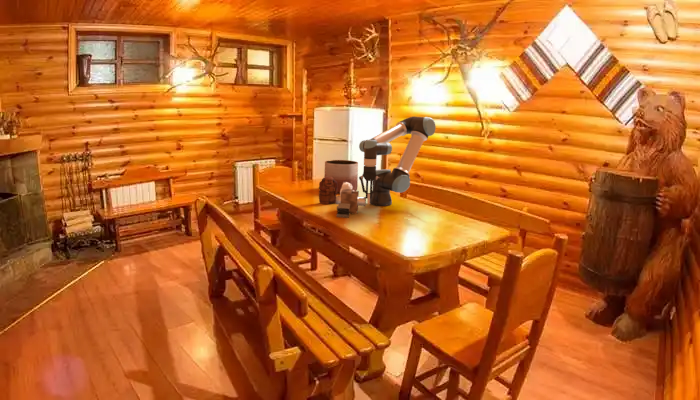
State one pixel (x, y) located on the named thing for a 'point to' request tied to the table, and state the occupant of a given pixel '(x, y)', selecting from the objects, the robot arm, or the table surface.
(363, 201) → the axle
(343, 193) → the brown open box
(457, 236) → the table surface
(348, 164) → the planter
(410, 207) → the table surface
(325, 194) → the wooden figurine
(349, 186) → the figurine
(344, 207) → the v block
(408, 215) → the table surface
